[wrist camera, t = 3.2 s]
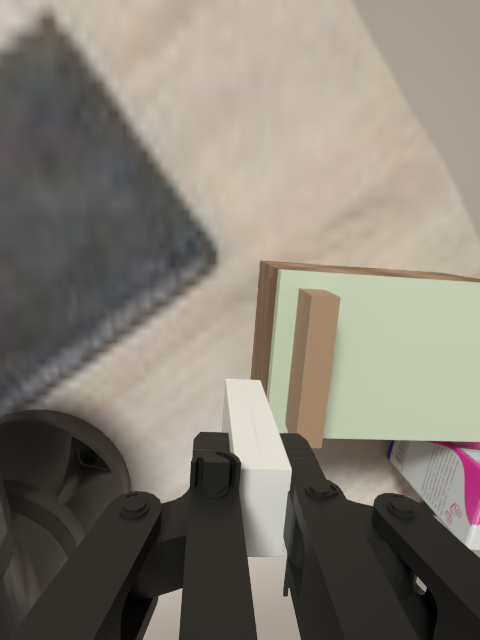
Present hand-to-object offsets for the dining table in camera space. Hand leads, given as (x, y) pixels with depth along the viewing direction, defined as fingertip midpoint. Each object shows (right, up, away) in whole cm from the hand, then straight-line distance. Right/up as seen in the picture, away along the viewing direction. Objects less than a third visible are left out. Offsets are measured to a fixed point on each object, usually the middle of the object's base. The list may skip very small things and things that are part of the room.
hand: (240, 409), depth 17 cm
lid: (+10, +1, +10) cm, 14 cm away
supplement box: (+17, -7, +21) cm, 28 cm away
